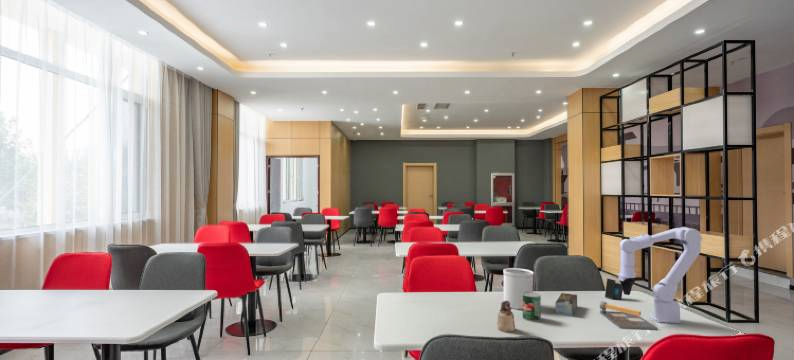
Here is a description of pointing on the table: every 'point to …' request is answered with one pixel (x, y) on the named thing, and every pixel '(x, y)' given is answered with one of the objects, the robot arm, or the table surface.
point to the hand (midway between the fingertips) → (626, 294)
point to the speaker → (613, 289)
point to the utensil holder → (517, 285)
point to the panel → (627, 320)
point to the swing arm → (619, 308)
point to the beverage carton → (566, 304)
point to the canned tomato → (531, 306)
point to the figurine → (506, 318)
